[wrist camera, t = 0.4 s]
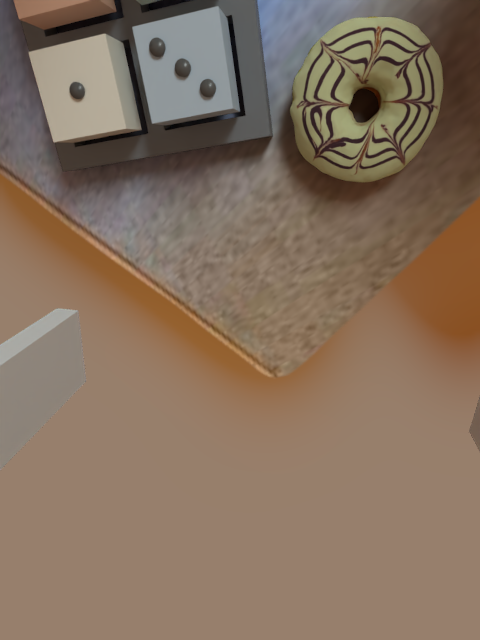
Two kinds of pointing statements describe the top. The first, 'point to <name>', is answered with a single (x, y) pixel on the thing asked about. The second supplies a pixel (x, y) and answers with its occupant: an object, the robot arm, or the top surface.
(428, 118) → the decorated donut
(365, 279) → the top surface
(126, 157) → the keypad board
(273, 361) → the top surface
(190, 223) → the top surface
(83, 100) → the tile
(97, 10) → the tile
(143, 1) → the tile
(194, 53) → the tile
